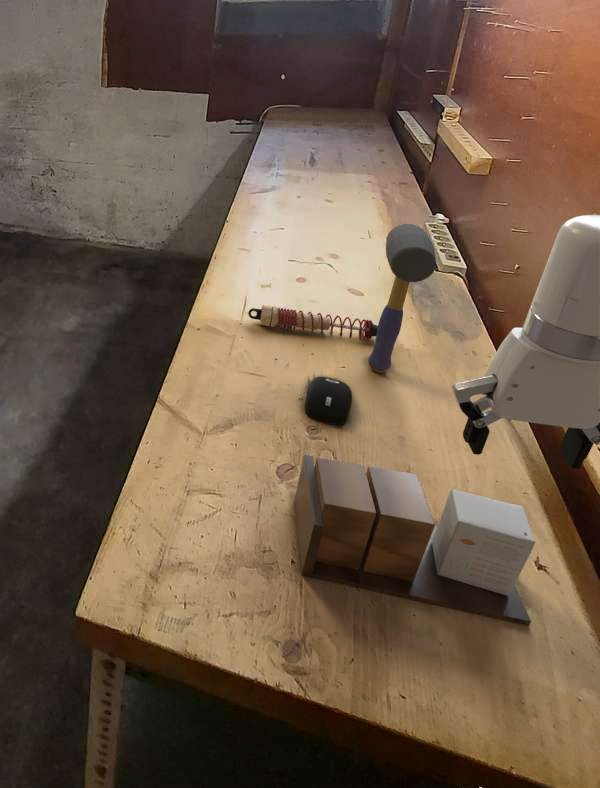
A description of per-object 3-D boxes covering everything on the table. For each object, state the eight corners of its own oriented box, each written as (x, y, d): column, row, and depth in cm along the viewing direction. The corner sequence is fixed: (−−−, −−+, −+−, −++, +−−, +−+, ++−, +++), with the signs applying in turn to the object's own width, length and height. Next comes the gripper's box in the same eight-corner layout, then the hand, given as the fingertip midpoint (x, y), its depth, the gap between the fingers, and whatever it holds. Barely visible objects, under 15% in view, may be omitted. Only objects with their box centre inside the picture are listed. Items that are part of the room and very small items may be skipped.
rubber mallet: (401, 392, 107) (444, 250, 94) (357, 382, 110) (393, 243, 97) (396, 356, 117) (434, 223, 104) (356, 348, 120) (388, 218, 107)
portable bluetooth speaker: (352, 390, 108) (356, 373, 106) (346, 430, 99) (351, 412, 97) (310, 379, 111) (314, 362, 109) (301, 416, 102) (304, 399, 100)
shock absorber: (392, 320, 122) (249, 301, 131) (398, 324, 118) (249, 304, 127) (389, 342, 123) (246, 321, 132) (395, 346, 118) (247, 324, 127)
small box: (499, 560, 75) (525, 505, 71) (509, 598, 71) (538, 542, 66) (430, 540, 78) (450, 486, 74) (435, 575, 74) (458, 520, 69)
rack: (490, 540, 79) (518, 480, 74) (529, 625, 68) (564, 563, 63) (293, 502, 86) (306, 445, 80) (301, 575, 75) (316, 514, 70)
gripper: (648, 321, 60) (590, 441, 67) (462, 305, 64) (427, 420, 72) (699, 363, 53) (627, 491, 61) (488, 343, 58) (446, 464, 65)
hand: (519, 452), depth 66 cm, fingers open, 9 cm apart
